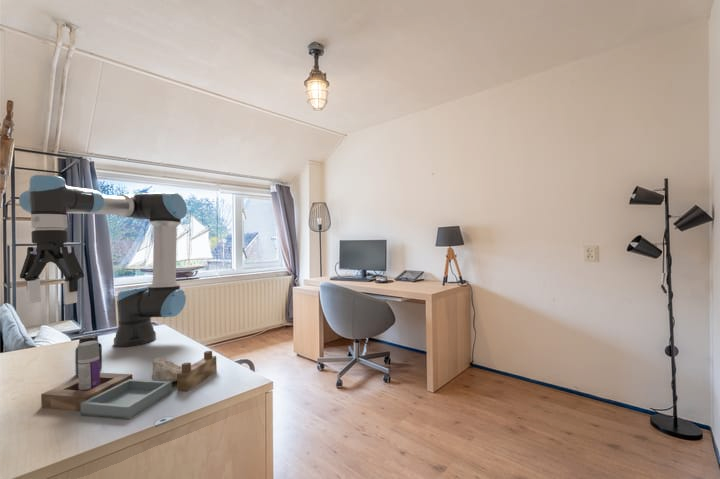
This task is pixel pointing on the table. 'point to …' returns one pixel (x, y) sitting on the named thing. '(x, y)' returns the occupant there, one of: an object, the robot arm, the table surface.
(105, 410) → the tray
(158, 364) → the stone
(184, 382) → the bar
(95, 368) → the container
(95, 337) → the supplement bottle
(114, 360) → the table surface
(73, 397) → the block
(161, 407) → the table surface
